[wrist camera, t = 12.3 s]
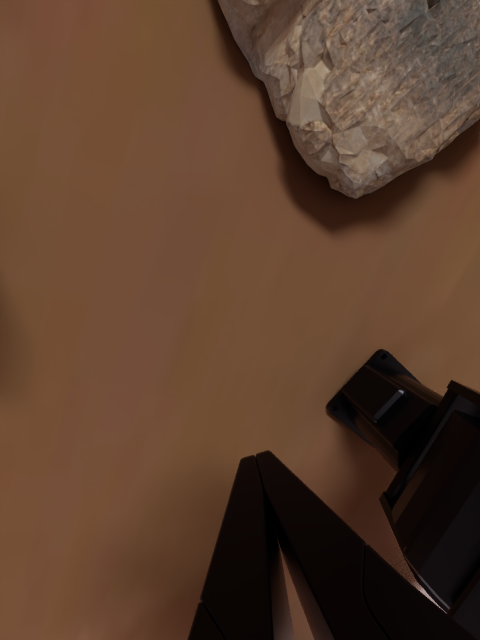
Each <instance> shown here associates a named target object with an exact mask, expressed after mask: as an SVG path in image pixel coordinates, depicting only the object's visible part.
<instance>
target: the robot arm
mask: <svg viewBox="0 0 480 640" xmlns="http://www.w3.org/2000/svg"><path fill="white" fill-rule="evenodd" d="M383 354H384V356H383V357H382V358H381V356H382V355H383ZM447 388H448V390H447V392H446V393H445V395H444V397H443V396H441V395H439V394H438V393H436V392H434V391H432V390H431V389H429V388H427V387H426V386H424V385H422V384H421V383H420V382H419V381H418V380H417V379H416V378H415V377H414V376H413V375H412V374H411V373H410V372H409V371H408V370H407V369H406V368H405V367H404V366H403V365H401V364H400V363H399V362H398V361H397V360H396V359H395V358H394V357H393V356H392V355H391V354H390V353H389V352H388V351H386V350H384V349H380V350H378V351H377V352H376V353H375V354H374V355H373V356H372V357H371V358H370V359H369V360H368V361H367V362H366V363H365V364H364V365H363V366H362V368H361V369H360V370H359V371H358V372H357V373H356V374H355V375H354V376H353V377H352V378H351V379H350V380H349V381H348V382H347V384H346V385H345V386H344V387H343V388H342V389H341V390H340V391H339V392H338V393H337V394H336V395H335V396H334V397H333V398H332V400H331V401H330V402H329V403H328V405H327V409H328V410H329V411H330V412H331V413H332V414H333V415H334V416H335V417H337V418H338V419H339V420H340V421H342V422H343V423H344V424H345V425H347V426H348V427H349V428H350V429H351V430H353V431H354V432H355V433H356V434H358V435H359V436H360V437H361V438H363V439H364V440H365V441H366V442H368V443H369V444H370V445H371V446H373V447H374V448H375V449H376V450H377V451H378V452H379V453H380V454H381V455H382V456H383V457H384V459H385V460H386V461H387V462H388V463H389V464H390V465H391V466H392V467H393V469H394V470H395V471H396V472H397V474H396V476H395V477H394V479H393V480H392V482H391V484H390V485H389V487H388V489H387V490H386V492H383V493H382V495H381V497H380V498H379V500H380V502H381V505H382V507H383V509H384V512H385V514H386V516H387V518H388V521H389V523H390V525H391V528H392V530H393V532H394V535H395V537H396V539H397V541H398V544H399V546H400V548H401V551H402V553H403V555H404V557H405V560H406V562H407V564H408V566H409V568H410V570H411V571H412V573H413V574H414V577H415V579H416V580H417V582H418V583H419V584H420V585H421V586H422V587H423V588H424V590H425V591H426V592H427V593H428V594H429V596H431V598H432V599H433V600H434V601H435V602H436V603H437V604H438V605H439V606H440V607H441V608H442V609H443V610H444V611H445V612H446V613H447V614H446V613H445V612H444V611H443V610H442V609H440V608H439V607H438V606H437V605H435V604H434V603H433V602H432V601H431V600H429V599H428V598H427V597H426V596H425V595H423V594H422V593H421V592H420V591H419V590H417V589H416V588H415V587H414V586H413V585H411V584H410V583H409V582H408V581H407V580H406V579H405V578H404V577H403V576H402V575H400V574H399V573H398V572H397V571H396V570H395V569H394V568H393V567H392V566H391V565H389V564H388V563H387V562H386V561H385V560H384V559H383V558H382V557H381V556H380V555H379V554H378V553H377V552H376V551H375V550H374V549H372V548H371V547H370V546H369V545H366V543H365V541H364V540H363V539H362V538H361V537H360V536H359V535H358V534H357V533H355V532H354V531H353V530H352V529H351V528H350V527H349V526H348V525H347V524H346V523H345V522H344V521H343V520H342V519H341V518H340V517H339V516H338V515H337V514H336V513H335V512H333V511H332V510H331V509H330V508H329V507H328V506H327V505H326V504H325V503H324V502H323V501H322V500H321V499H320V498H319V497H318V496H317V495H316V494H315V493H314V492H313V491H311V490H310V489H309V488H308V487H307V486H306V485H305V484H304V483H303V482H302V481H301V480H300V479H299V478H298V477H297V476H296V475H295V474H294V473H293V472H292V471H291V470H289V469H288V468H287V467H286V466H285V465H284V464H283V463H282V462H281V461H280V460H279V459H278V458H277V457H276V456H275V455H274V454H273V453H272V452H271V451H269V450H267V451H264V452H260V453H257V454H256V457H255V456H254V455H251V456H248V457H244V458H242V459H241V460H240V463H239V466H238V470H237V473H236V477H235V480H234V483H233V487H232V490H231V494H230V497H229V501H228V504H227V507H226V511H225V514H224V518H223V521H222V525H221V528H220V531H219V535H218V538H217V542H216V545H215V548H214V552H213V555H212V559H211V562H210V566H209V569H208V572H207V576H206V579H205V583H204V586H203V590H202V593H201V596H200V601H201V602H199V603H198V606H197V610H196V613H195V616H194V620H193V623H192V627H191V630H190V633H189V636H188V640H295V639H294V633H293V627H292V621H291V614H290V608H289V602H288V596H287V589H286V583H285V577H284V571H283V565H282V559H281V553H280V548H281V551H282V554H283V557H284V560H285V562H286V565H287V568H288V570H289V573H290V576H291V578H292V581H293V584H294V586H295V589H296V592H297V594H298V597H299V600H300V602H301V605H302V607H303V610H304V613H305V615H306V618H307V621H308V623H309V626H310V629H311V631H312V634H313V637H314V639H315V640H480V392H478V391H476V390H474V389H471V388H469V387H467V386H465V385H462V384H460V383H458V382H455V381H453V380H451V381H450V383H449V384H448V386H447ZM333 406H336V407H335V408H333ZM332 408H333V409H332ZM274 527H275V528H274ZM277 538H278V539H277ZM278 542H279V544H278ZM279 545H280V548H279Z"/></svg>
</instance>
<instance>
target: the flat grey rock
mask: <svg viewBox="0 0 480 640" xmlns="http://www.w3.org/2000/svg"><path fill="white" fill-rule="evenodd" d="M218 3H219V5H220V7H221V10H222V12H223V14H224V16H225V18H226V21H227V23H228V25H229V27H230V30H231V32H232V35H233V37H234V40H235V41H236V43H237V45H238V46H239V48H240V49H241V51H242V53H243V54H244V56H245V57H246V59H247V60H248V62H249V65H250V67H251V69H252V72H253V74H254V75H255V76H256V78H258V79H260V80H262V81H263V82H264V84H265V86H266V88H267V92H268V95H269V98H270V101H271V104H272V107H273V109H274V112H275V115H276V117H277V118H278V119H280V120H282V121H286V125H287V127H288V129H289V131H290V134H291V137H292V140H293V143H294V146H295V148H296V149H297V150H298V152H299V153H300V155H301V156H302V158H303V159H304V160H305V162H306V163H307V165H308V166H309V167H310V168H312V169H313V170H314V171H315V172H316V173H317V174H319V175H322V176H325V177H327V178H328V180H329V184H330V187H331V189H334V190H337V191H340V192H342V193H343V194H345V195H346V196H347V197H353V198H355V199H357V198H359V197H361V196H363V195H364V194H368V193H372V192H374V191H376V190H378V189H379V188H381V187H384V186H385V185H386V184H387V183H389V182H390V181H392V180H393V179H394V178H396V177H398V176H399V175H401V174H403V173H405V172H406V171H408V170H410V169H413V168H415V167H417V166H419V165H422V164H424V163H426V162H428V161H430V160H432V159H433V157H434V155H435V154H438V153H439V152H440V151H441V150H443V149H444V148H445V147H446V146H448V145H449V144H450V143H451V142H452V141H453V140H454V139H455V138H456V137H457V136H458V135H459V134H460V133H462V132H463V131H465V130H466V129H467V128H469V127H470V126H471V125H473V124H474V123H476V122H477V121H478V120H480V0H218Z"/></svg>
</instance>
